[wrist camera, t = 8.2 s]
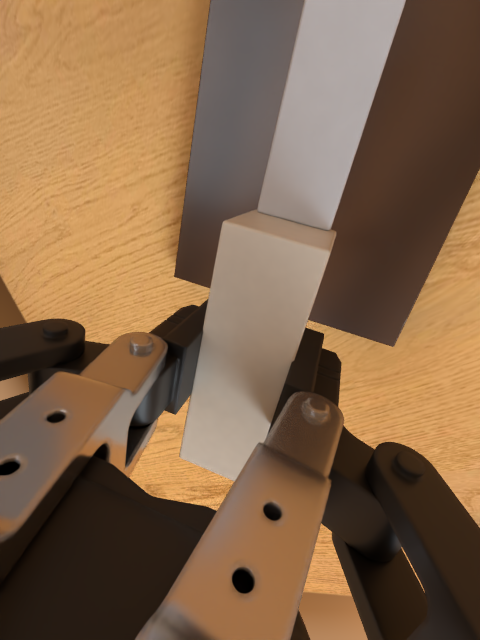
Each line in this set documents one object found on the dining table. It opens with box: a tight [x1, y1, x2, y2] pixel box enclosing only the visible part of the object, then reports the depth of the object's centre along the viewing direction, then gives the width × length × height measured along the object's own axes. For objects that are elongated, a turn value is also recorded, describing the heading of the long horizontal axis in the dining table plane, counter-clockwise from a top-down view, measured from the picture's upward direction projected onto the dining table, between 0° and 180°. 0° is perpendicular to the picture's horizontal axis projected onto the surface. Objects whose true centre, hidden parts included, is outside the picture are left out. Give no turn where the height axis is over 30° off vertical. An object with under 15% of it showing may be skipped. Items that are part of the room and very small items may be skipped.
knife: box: [179, 0, 406, 481], centre depth 9 cm, size 18×3×3 cm, turn 167°
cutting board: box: [174, 0, 480, 347], centre depth 19 cm, size 16×24×2 cm, turn 168°
